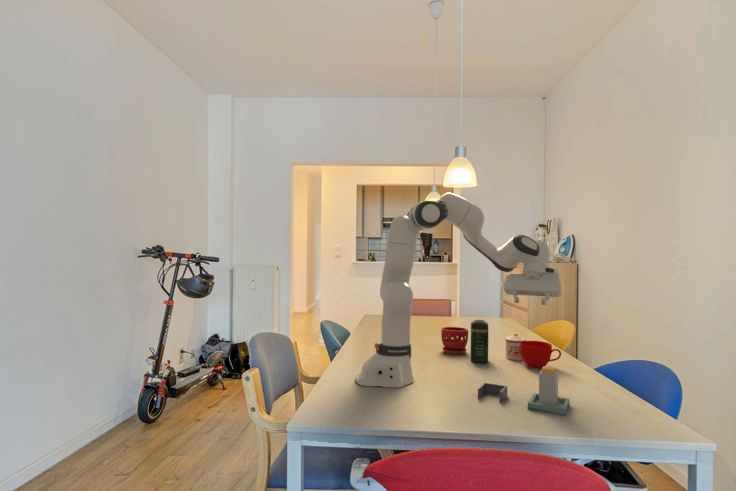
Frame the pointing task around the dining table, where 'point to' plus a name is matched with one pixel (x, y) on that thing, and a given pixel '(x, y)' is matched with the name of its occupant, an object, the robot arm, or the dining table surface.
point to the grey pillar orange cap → (548, 386)
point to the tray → (559, 410)
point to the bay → (493, 390)
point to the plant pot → (454, 340)
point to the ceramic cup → (537, 353)
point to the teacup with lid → (513, 347)
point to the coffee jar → (479, 341)
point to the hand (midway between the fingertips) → (529, 302)
